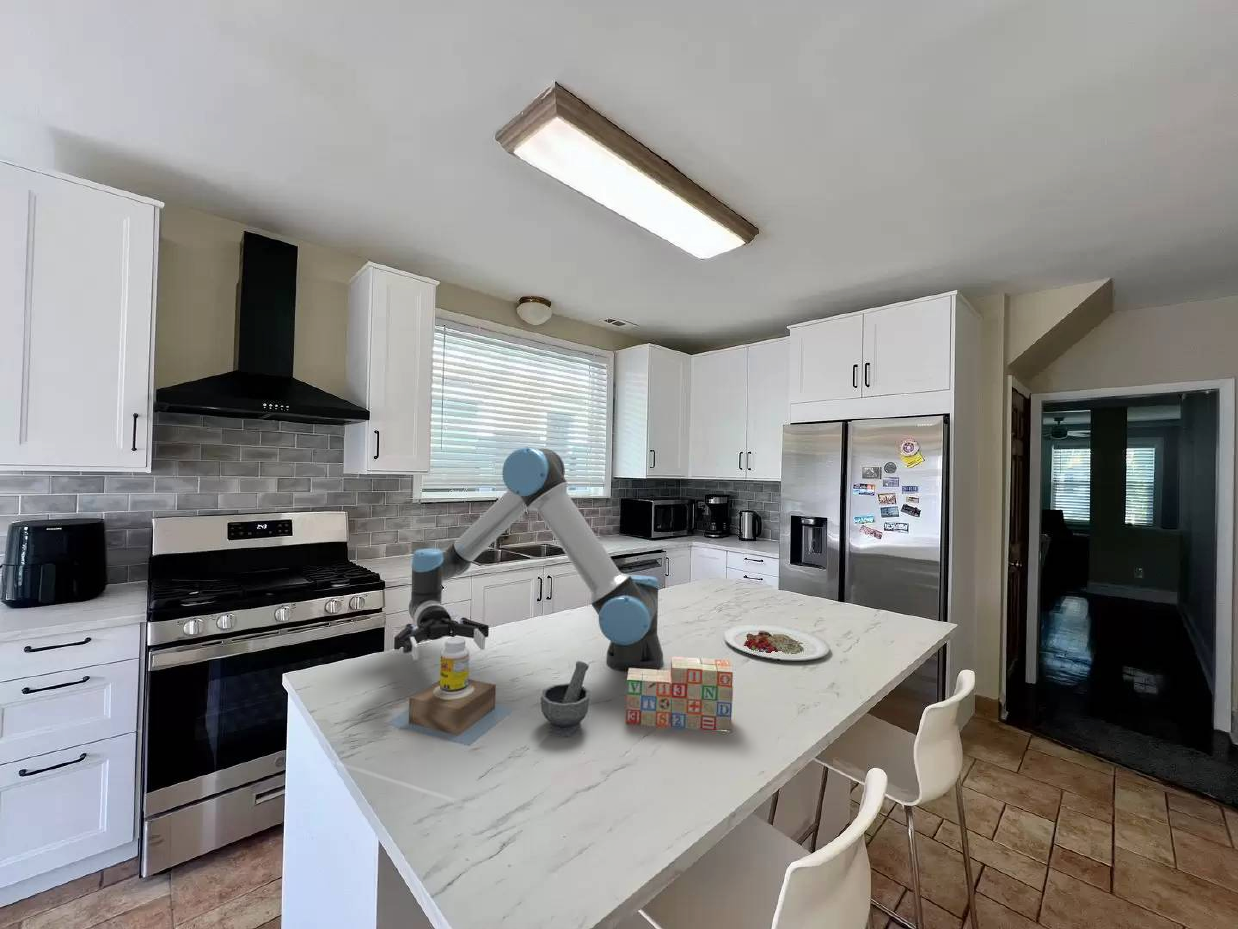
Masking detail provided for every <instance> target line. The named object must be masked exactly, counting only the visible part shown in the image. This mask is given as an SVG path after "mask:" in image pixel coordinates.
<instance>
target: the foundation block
mask: <svg viewBox="0 0 1238 929" xmlns="http://www.w3.org/2000/svg"><path fill="white" fill-rule="evenodd" d="M496 691H497V685H496V684H493V683H488V682H484V681H480V680H475V679H470V678H468V688H467V689H466V690H465V691H464V692H462V693H459V694H453V695H449V694H445V693H443V692H441V690H440V680H438V681H436V682H435V683H433V684H431V685H430V686H427V687H426V688H423V689H422V690H421V691H418V692H417V693H415V694H413V695H411V696H409V698H408V699H409V702H408V706H409V707H408V710H409V723H412V724H415V725H419V726H423V727H427V728H431V729H435V730H439V731H442V732H446V733H450V734H454V735H458V736H459V735H460V734H461V733H463V732H464V731H465V730H467V729H468V728H469V727H471V726H472V725H473V724H475V723H476V722H477V721H479V720H480V719H482V718H483V717H484V716H486V715H487V714H488V713H490V712H491V711H492V710H494V709H495V703H496V694H497V692H496Z"/></svg>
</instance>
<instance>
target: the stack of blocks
mask: <svg viewBox="0 0 1238 929" xmlns="http://www.w3.org/2000/svg"><path fill="white" fill-rule="evenodd" d="M733 674H734V671H733V668H732V666H731V662H730V660H725V659H724V660H721V659H715V658H708V657H707V658H706V657H700V658H699V657H682V656H671V657H670V669H669V670H665V669H664V670H662V669H656V670H653V669H637V668H629V671H628V672H627V678H626V703H625V709H626V711H625V724H631V725H641V726H650V727H651V726H652V727H661V728H662V727H663V728H677V729H687V730H689V729H691V730H692V729H693V730H701V729H702V730H703V731H711V730H727V731H731V732H732V712H733V698H734V693H733V692H734V686H733V679H734V678H733V676H734V675H733Z"/></svg>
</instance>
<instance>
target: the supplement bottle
mask: <svg viewBox="0 0 1238 929" xmlns="http://www.w3.org/2000/svg"><path fill="white" fill-rule="evenodd" d="M469 666H470V649H469V648H468V647H467V646H466V638H465V637H462V636H455V637H449V638H447V639H445V643H444V648H443V649H442V650H441V652H440V670H439V674H440V676H439V681H440V690H441V692H443V693H445V694H449V695H453V694H459V693H462V692H464V691H465V690H466V689H467V688H468V679H469V677H470V676H469V671H470V670H469V668H470V667H469Z"/></svg>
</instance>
